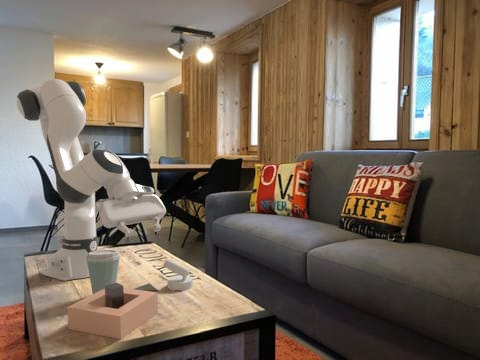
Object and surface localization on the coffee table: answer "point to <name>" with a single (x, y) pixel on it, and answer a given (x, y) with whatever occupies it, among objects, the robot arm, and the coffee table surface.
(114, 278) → the disposable coffee cup
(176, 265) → the wall hook
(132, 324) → the box
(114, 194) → the robot arm
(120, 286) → the grey pillar on base
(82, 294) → the coffee table surface
